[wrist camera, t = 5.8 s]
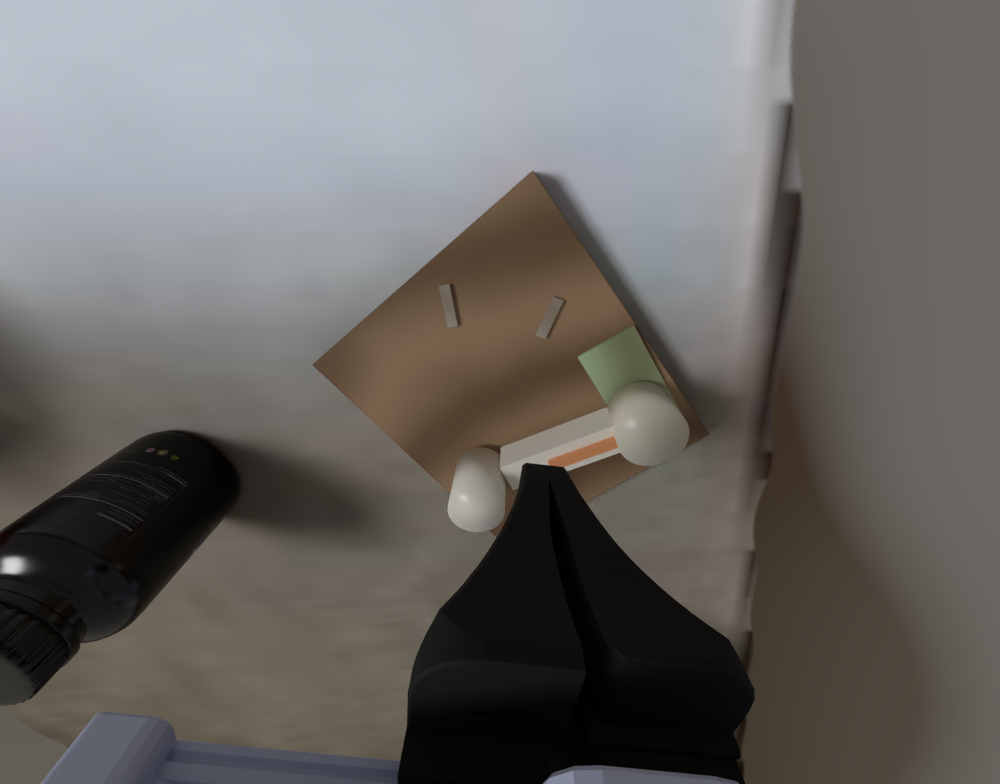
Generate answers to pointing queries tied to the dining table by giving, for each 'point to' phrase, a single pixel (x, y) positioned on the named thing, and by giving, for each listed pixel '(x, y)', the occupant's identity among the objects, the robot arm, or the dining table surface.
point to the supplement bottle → (103, 552)
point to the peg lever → (569, 451)
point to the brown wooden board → (499, 346)
